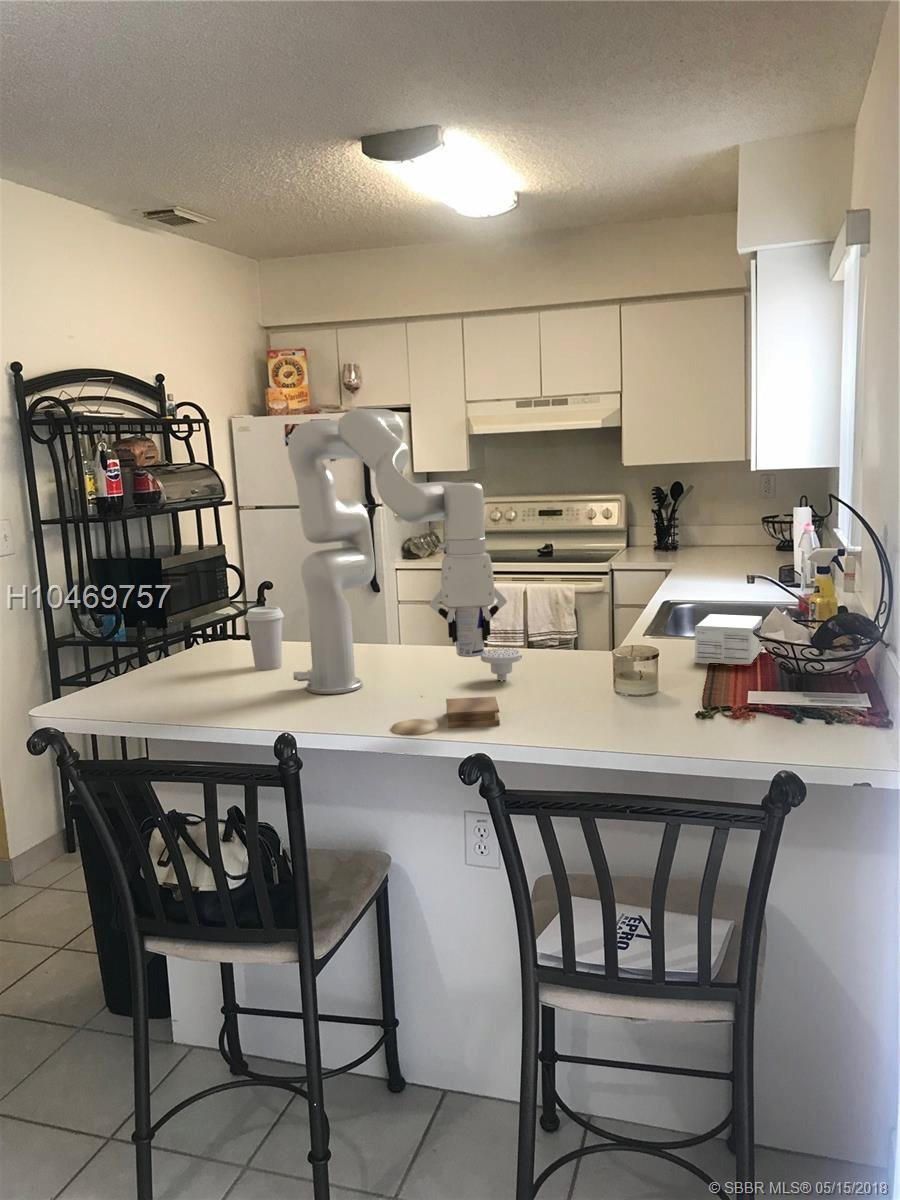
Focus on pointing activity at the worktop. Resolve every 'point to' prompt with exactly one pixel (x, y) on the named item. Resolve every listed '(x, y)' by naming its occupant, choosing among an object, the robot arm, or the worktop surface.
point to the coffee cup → (266, 636)
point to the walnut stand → (472, 712)
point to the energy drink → (469, 631)
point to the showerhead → (501, 661)
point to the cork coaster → (415, 727)
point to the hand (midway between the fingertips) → (469, 639)
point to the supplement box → (727, 639)
